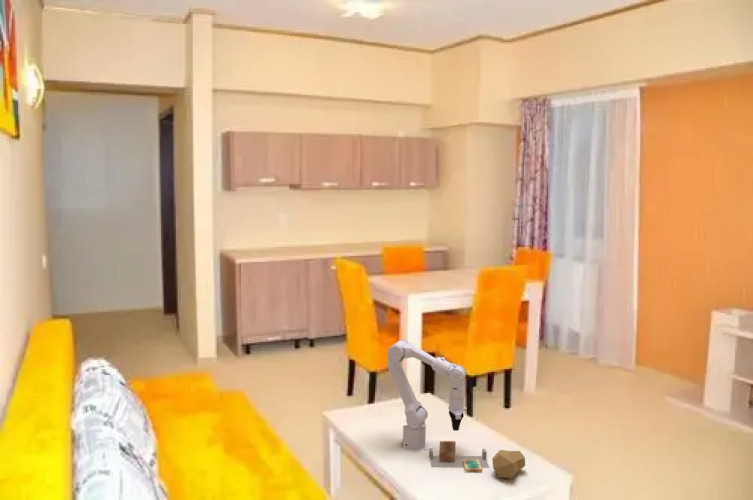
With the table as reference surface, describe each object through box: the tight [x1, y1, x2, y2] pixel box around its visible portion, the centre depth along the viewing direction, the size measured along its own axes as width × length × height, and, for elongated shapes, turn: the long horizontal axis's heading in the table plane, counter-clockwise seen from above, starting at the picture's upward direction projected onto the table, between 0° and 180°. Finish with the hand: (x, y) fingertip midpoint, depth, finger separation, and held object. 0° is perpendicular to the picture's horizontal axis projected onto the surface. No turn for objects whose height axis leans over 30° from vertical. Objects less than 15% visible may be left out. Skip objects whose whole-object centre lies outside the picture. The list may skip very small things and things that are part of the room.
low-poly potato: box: [492, 449, 526, 480], centre depth 240 cm, size 15×11×12 cm
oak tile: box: [463, 459, 483, 473], centre depth 246 cm, size 6×1×8 cm
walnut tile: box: [438, 440, 457, 462], centre depth 251 cm, size 6×1×8 cm, turn 90°
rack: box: [428, 447, 490, 469], centre depth 251 cm, size 22×10×4 cm, turn 90°
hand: (455, 429), depth 258 cm, fingers closed
